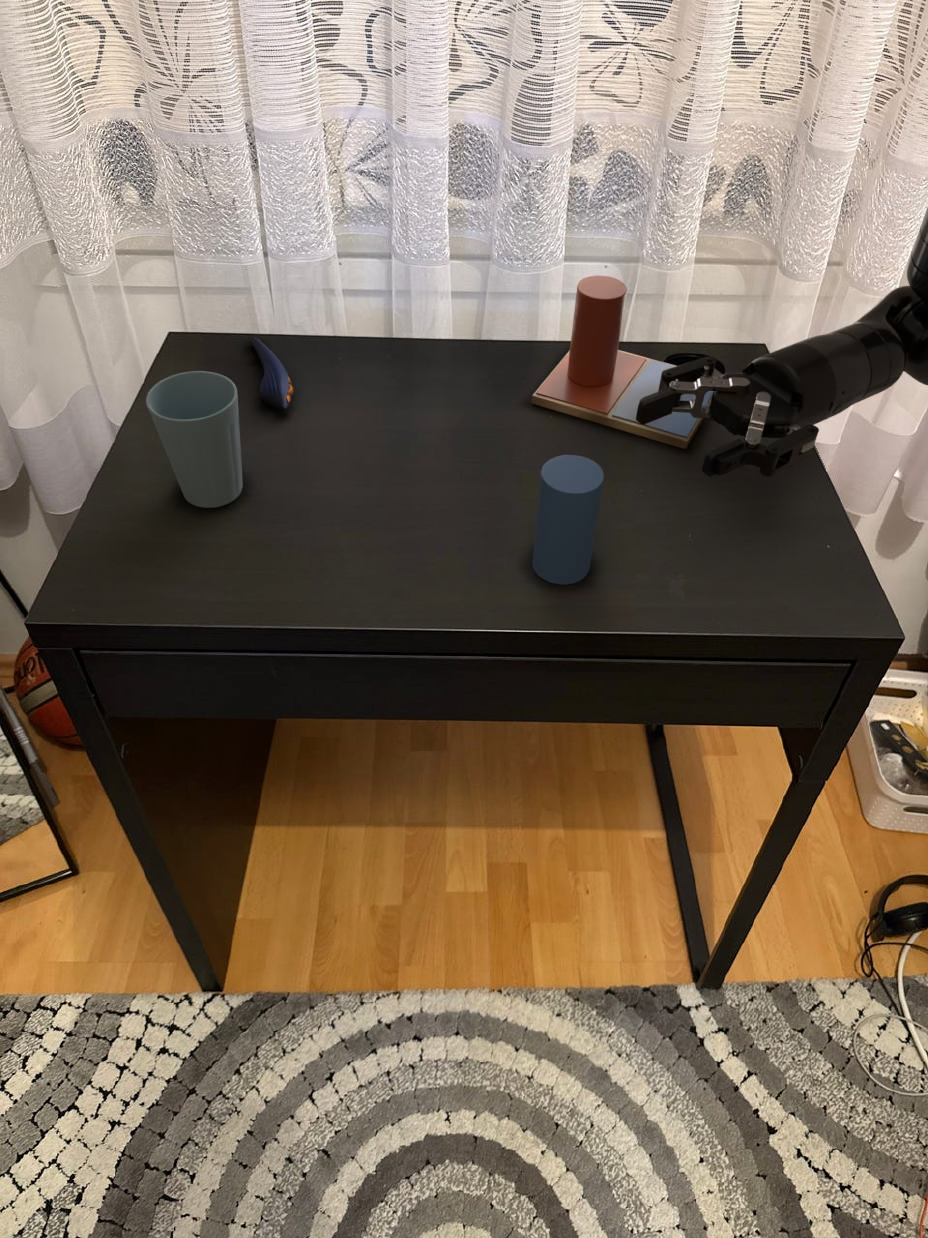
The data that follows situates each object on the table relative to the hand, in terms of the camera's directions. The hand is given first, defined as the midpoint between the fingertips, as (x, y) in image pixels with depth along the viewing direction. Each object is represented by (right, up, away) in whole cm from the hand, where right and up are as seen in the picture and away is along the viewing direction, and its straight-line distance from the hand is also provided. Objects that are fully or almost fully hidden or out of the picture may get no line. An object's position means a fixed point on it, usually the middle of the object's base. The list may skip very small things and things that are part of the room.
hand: (672, 438), depth 79 cm
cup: (-41, -3, +9) cm, 42 cm away
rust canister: (-4, +11, +21) cm, 24 cm away
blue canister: (-9, -11, +2) cm, 14 cm away
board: (0, +9, +21) cm, 23 cm away
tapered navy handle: (-39, +10, +22) cm, 45 cm away
